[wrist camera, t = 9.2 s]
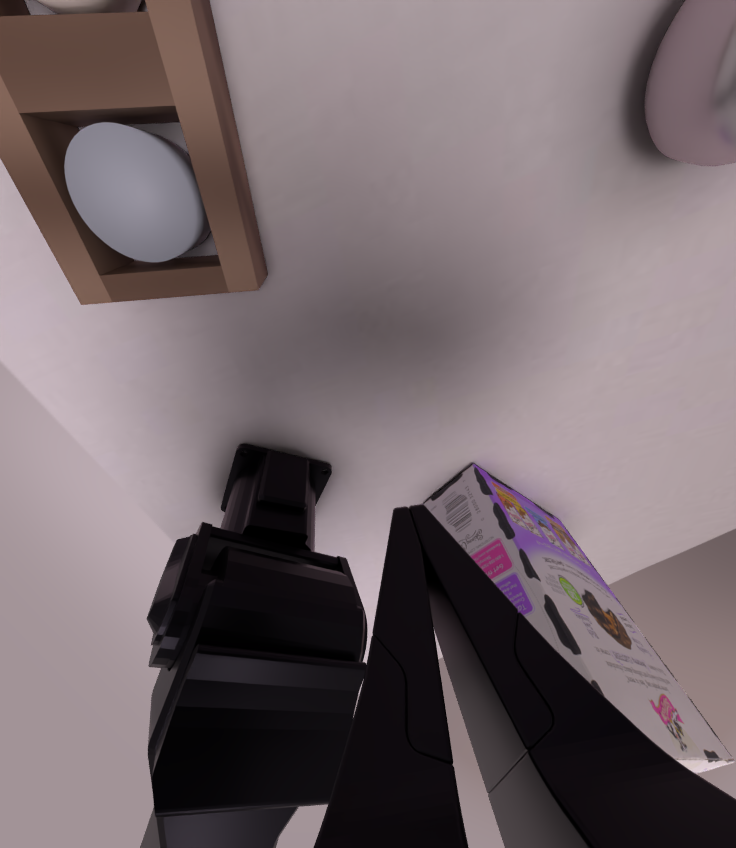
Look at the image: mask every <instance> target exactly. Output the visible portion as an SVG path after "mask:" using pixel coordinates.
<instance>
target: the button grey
mask: <svg viewBox="0 0 736 848" xmlns="http://www.w3.org/2000/svg"><path fill="white" fill-rule="evenodd" d="M64 168H65V178H66V184H67V187H68V191H69V194H70V196H71V199H72V201H73V204H74V205H75V207H76V209H77V211H78V213H79V214H80V216H81V217H82V219H83V220H84V222H85V223H86V224H87V225H88V227H89V228H90V229H91V230H92V231H93V232H94V233H95V234H96V235H97V236H98V237H99V238H100V239H101V240H102V241H103V242H104V243H106V244H107V245H109V246H110V247H111V248H113V249H114V250H116V251H118V252H119V253H121V254H123V255H125V256H127V257H130V258H133V259H136V260H140V261H144V262H163V261H167V260H170V259H173V258H175V257H177V256H179V255H181V254H183V253H185V252H187V251H189V250H191V249H193V248H195V247H197V246H198V245H199V244H201V243H202V242H203V241H204V240H205V239H206V237H207V236H208V234H209V232H210V230H211V228H210V225H209V221H208V218H207V214H206V211H205V207H204V204H203V200H202V197H201V193H200V190H199V187H198V183H197V180H196V176H195V173H194V169H193V166H192V162H191V159H190V156H189V155H188V154H187V153H186V152H185V151H184V150H182V149H181V148H180V147H179V146H177V145H176V144H174V143H173V142H171V141H170V140H168V139H165V138H163V137H161V136H158V135H155V134H152V133H149V132H145V131H142V130H139V129H136V128H132V127H129V126H126V125H122V124H117V123H109V122H102V123H95V124H92V125H89V126H87V127H85V128H84V129H82V130H80V131H79V132H78V133H77V134H76V135H75V136H74V138H73V139H72V140H71V142H70V144H69V146H68V149H67V152H66V156H65V165H64Z"/></svg>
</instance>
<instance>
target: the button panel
mask: <svg viewBox="0 0 736 848" xmlns="http://www.w3.org/2000/svg"><path fill="white" fill-rule="evenodd" d="M145 2H146V5H147V9H148V12H120V13H89V14H57V15H30V14H29V11H28V9H27V7H26V4H25V2H24V0H0V158H1V160H2V162H3V164H4V165H5V167H6V169H7V171H8V173H9V175H10V176H11V178H12V180H13V182H14V184H15V185H16V187H17V189H18V191H19V193H20V194H21V196H22V198H23V200H24V202H25V204H26V205H27V207H28V209H29V211H30V213H31V214H32V216H33V218H34V220H35V222H36V224H37V225H38V227H39V229H40V231H41V233H42V234H43V236H44V238H45V240H46V242H47V244H48V245H49V247H50V249H51V251H52V253H53V254H54V256H55V258H56V260H57V262H58V264H59V265H60V267H61V269H62V271H63V273H64V274H65V276H66V278H67V280H68V282H69V284H70V285H71V287H72V289H73V291H74V293H75V294H76V296H77V298H78V300H79V302H80V304H81V305H86V304H98V303H110V302H122V301H134V300H146V299H158V298H170V297H182V296H194V295H206V294H218V293H230V292H242V291H254V290H259V289H260V287H261V285H262V283H263V282H264V280H265V278H266V277H267V275H268V272H267V268H266V263H265V258H264V254H263V249H262V244H261V240H260V235H259V230H258V226H257V221H256V216H255V212H254V207H253V202H252V198H251V193H250V188H249V184H248V179H247V174H246V170H245V165H244V160H243V155H242V151H241V146H240V141H239V137H238V132H237V127H236V123H235V118H234V113H233V109H232V104H231V99H230V95H229V90H228V85H227V81H226V76H225V71H224V67H223V62H222V57H221V53H220V48H219V43H218V39H217V34H216V29H215V25H214V20H213V15H212V11H211V6H210V1H209V0H145ZM102 122H109V123H117V124H122V125H127V124H147V123H166V122H180V124H181V127H182V131H183V134H184V138H185V141H186V145H187V148H188V152H189V155H190V159H191V162H192V166H193V169H194V173H195V176H196V180H197V183H198V187H199V190H200V193H201V197H202V200H203V204H204V207H205V211H206V214H207V218H208V221H209V225H210V228H211V232H212V235H213V239H214V242H215V246H216V249H217V253H218V255H210V256H197V257H184V258H173V259H170V260H167V261H163V262H144V261H134V259H133V258H130V257H127V256H125V255H123V254H121V253H119V252H118V251H116V250H114V249H113V248H111V247H110V246H109V245H107V244H106V243H104V242H103V241H102V240H101V239H100V238H99V237H98V236H97V235H96V234H95V233H94V232H93V231H92V230H91V229H90V228H89V227H88V225H87V224H86V223H85V222H84V220H83V219H82V217H81V216H80V214H79V213H78V211H77V209H76V207H75V205H74V204H73V201H72V199H71V196H70V194H69V191H68V187H67V184H66V178H65V168H64V165H65V156H66V152H67V149H68V146H69V144H70V142H71V140H72V139H73V138H74V136H75V135H76V134H77V133H78V132H79V129H78V127H87V126H89V125H92V124H95V123H102Z"/></svg>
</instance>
